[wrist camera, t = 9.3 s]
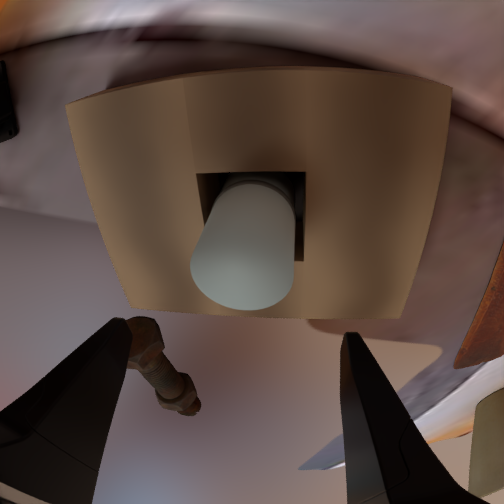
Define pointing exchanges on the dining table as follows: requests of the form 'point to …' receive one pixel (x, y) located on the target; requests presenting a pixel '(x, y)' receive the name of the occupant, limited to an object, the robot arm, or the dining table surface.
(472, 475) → the plant pot
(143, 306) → the board
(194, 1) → the dining table surface
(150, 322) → the bolt
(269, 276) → the peg
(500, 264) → the wooden tablet
